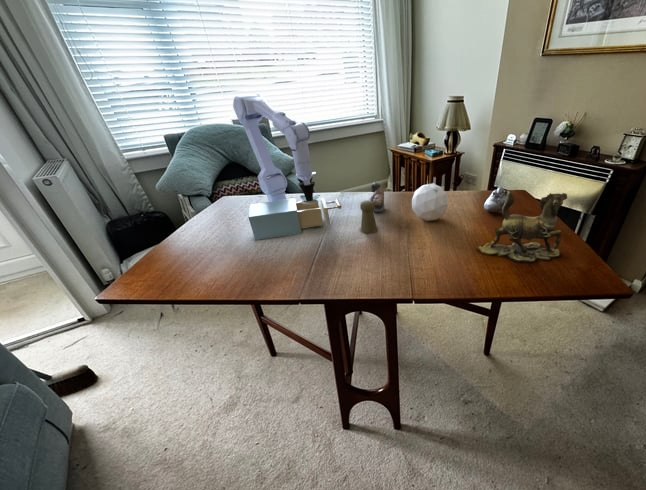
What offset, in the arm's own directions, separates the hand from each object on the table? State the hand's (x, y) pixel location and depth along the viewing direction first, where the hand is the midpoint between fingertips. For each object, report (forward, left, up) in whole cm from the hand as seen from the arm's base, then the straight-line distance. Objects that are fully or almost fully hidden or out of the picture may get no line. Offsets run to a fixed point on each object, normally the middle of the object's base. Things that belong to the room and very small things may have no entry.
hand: (308, 198), depth 115 cm
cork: (+13, +19, -11) cm, 26 cm away
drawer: (+1, +1, -10) cm, 10 cm away
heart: (+17, +71, -11) cm, 74 cm away
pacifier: (+1, 0, -2) cm, 2 cm away
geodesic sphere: (+12, +44, -11) cm, 47 cm away
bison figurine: (-5, +27, -11) cm, 30 cm away
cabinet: (+1, -14, -10) cm, 17 cm away
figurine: (+46, +60, -11) cm, 77 cm away
